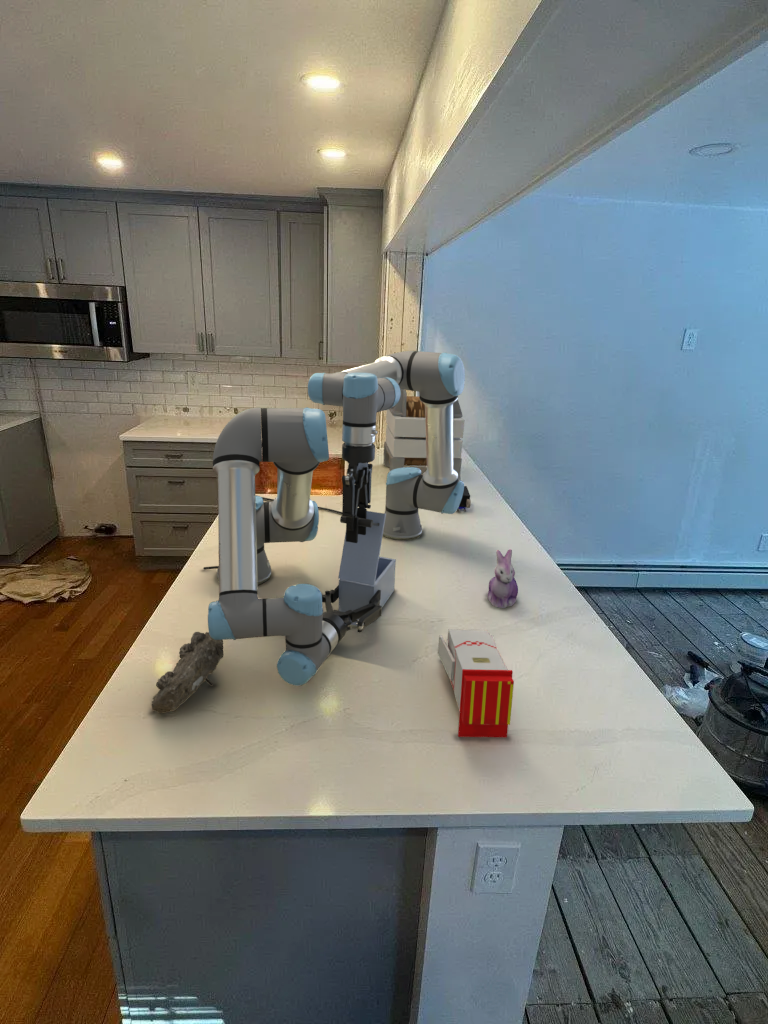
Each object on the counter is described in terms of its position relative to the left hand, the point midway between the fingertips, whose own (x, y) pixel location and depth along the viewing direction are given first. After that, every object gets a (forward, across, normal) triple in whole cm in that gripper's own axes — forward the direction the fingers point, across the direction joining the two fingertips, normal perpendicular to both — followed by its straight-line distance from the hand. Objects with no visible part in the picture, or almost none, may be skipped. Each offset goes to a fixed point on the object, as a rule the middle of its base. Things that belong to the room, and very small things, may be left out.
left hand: (360, 590), depth 146 cm
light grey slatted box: (+135, -22, -6) cm, 137 cm away
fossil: (-41, -21, -6) cm, 46 cm away
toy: (-22, +33, -6) cm, 40 cm away
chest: (+6, 0, -6) cm, 8 cm away
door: (0, 0, +12) cm, 12 cm away
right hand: (-4, 0, +16) cm, 17 cm away
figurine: (+21, +34, -6) cm, 40 cm away
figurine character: (+93, +7, -6) cm, 94 cm away
